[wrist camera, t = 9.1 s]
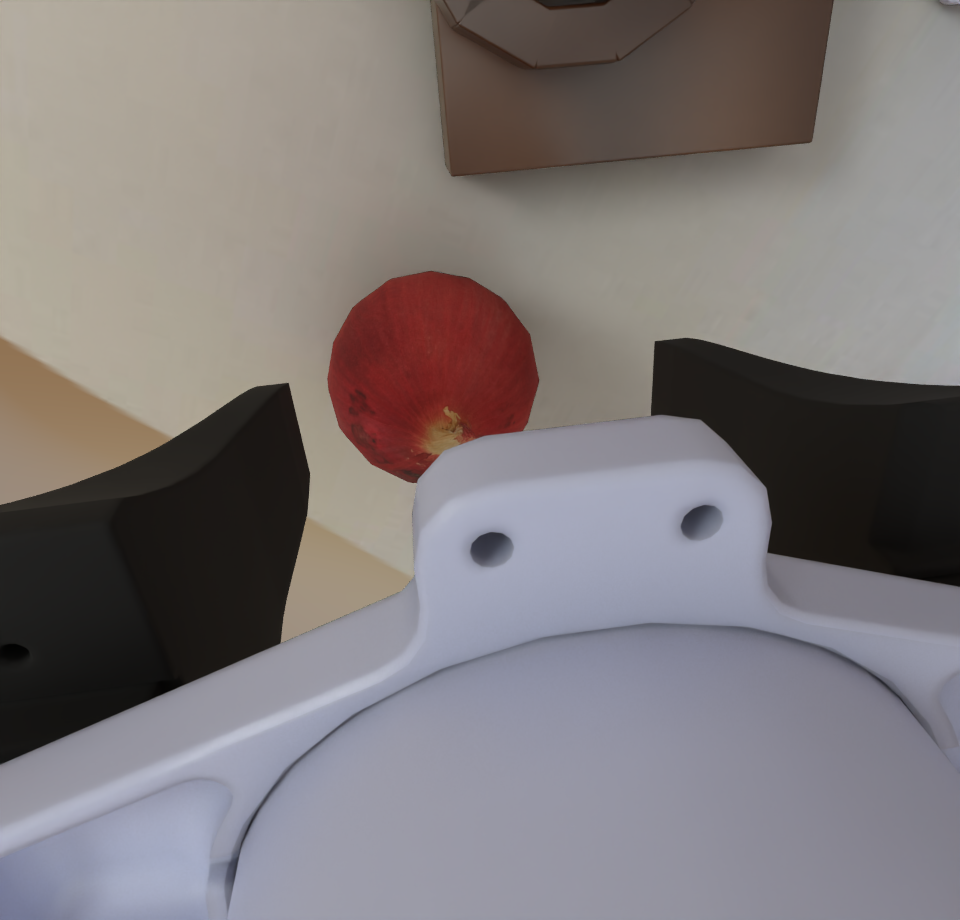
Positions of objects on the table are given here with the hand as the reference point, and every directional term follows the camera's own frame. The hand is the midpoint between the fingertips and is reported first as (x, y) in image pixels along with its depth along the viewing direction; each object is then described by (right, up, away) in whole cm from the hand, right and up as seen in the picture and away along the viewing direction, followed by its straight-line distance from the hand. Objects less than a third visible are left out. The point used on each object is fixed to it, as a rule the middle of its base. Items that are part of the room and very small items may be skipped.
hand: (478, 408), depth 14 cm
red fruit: (-2, +3, +9) cm, 10 cm away
